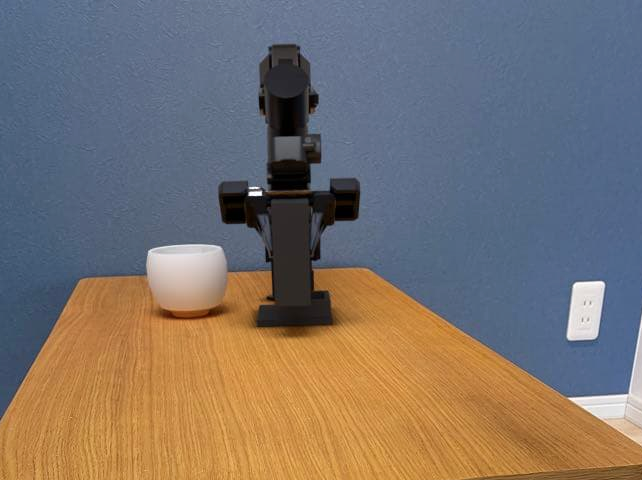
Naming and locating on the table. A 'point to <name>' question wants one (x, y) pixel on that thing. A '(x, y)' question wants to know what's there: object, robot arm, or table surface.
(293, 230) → the post
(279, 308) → the base pad
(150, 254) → the cup
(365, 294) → the table surface
